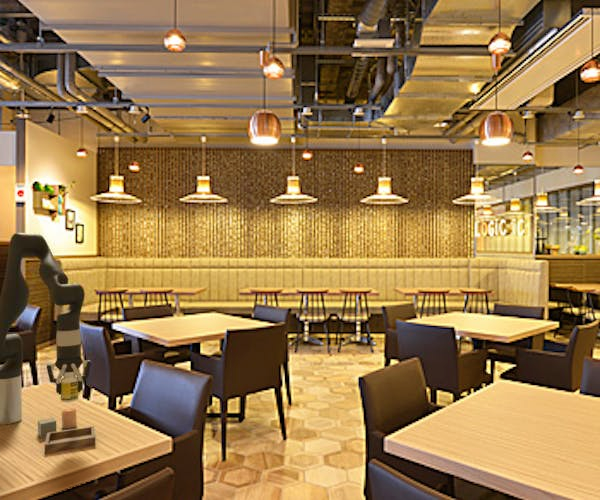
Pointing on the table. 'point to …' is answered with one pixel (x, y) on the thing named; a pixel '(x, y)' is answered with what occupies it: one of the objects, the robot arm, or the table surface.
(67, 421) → the terracotta cylinder
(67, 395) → the supplement bottle
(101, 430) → the table surface
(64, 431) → the walnut tray
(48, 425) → the blue-grey cube
